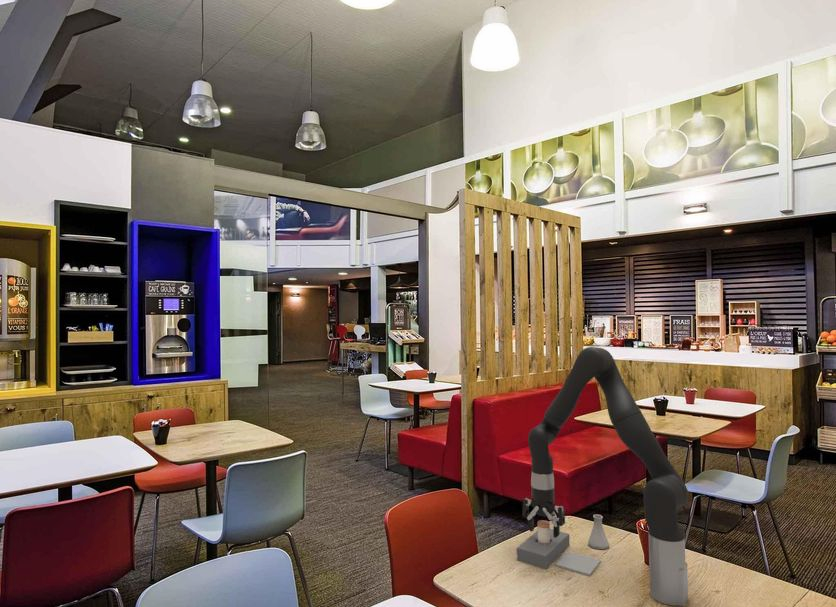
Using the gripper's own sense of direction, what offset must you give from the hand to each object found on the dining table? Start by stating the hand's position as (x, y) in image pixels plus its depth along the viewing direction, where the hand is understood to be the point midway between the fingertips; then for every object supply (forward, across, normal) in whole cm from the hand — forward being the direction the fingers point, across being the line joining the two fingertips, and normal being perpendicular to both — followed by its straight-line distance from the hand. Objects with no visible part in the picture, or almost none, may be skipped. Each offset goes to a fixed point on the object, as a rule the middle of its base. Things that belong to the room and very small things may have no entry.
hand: (543, 533), depth 170 cm
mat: (+6, -12, +1) cm, 14 cm away
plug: (+6, 0, 0) cm, 6 cm away
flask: (+6, -13, -16) cm, 22 cm away
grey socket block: (+6, 0, 0) cm, 6 cm away
